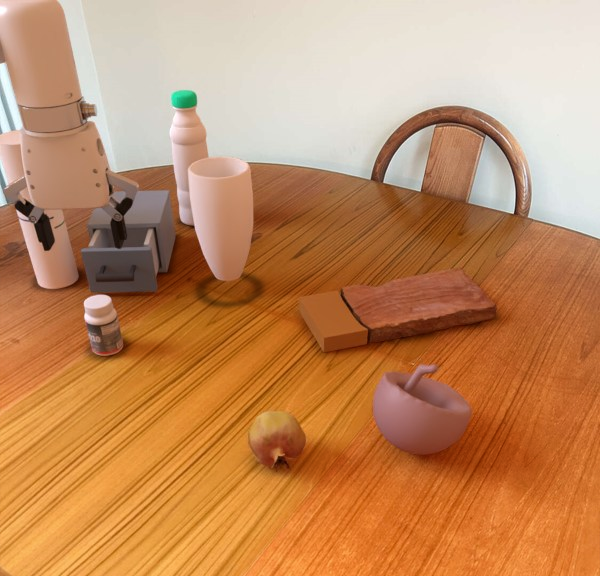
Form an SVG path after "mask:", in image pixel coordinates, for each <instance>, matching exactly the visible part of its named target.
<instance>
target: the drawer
mask: <svg viewBox="0 0 600 576" xmlns="http://www.w3.org/2000/svg"><path fill="white" fill-rule="evenodd" d="M126 230H127V240H124V242H123V245H122V248H121V249H117V248H115V244H114V239H113V235H112V230H111V228H100V229H96V231H95V233H94V235H93V237H92V239H91V241H90V240H89V241H90V242H89V244H88V247H86V248H85V247H83V248H82V249H81V250H80V254H81V258H82V262H83V263H82V264H83V266H84V269H85V270H84V271H85V274H86V275H85V276H86V279H87V283H88V286H89V288H88V289H89V291H90V293H91V294H99V293H101V294H102V293H137V292H138V293H139V292H140V293H141V292H143V293H144V292H157V291H158V289H159V286H158V285H159V284H158V281H157V280H158V279H157V275H158V273H159V272H158V268H159V264H160V261H161V258H160V251H159V245H158V239H157V232H156V227H146V228H126Z"/></svg>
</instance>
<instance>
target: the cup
mask: <svg viewBox="0 0 600 576" xmlns="http://www.w3.org/2000/svg"><path fill="white" fill-rule="evenodd" d="M188 178H189V191H190V201H191V207H192V213H193V219H194V225H195V226H194V231H195V234H196V236H197V239H198V242H199V246H200V249H201V252H202V254H203V256H204V259H205V261H206V263H207V265H208V267H209V269H210V271H211V272H212V274H213V275H214V277H215V278H216V280H219V281H222V282H230V281H231V282H232V281H236V280H238V279H239V278H241V277H242V275H243V271H244V269H245V266H246V264H247V260H248V257H249V253H250V249H251V243H252V237H253V231H254V192H253V180H252V171H251V166H250V164H249V162H248V161H246V160H243V159H242V158H238V157H234V156H211V157H209V158H205V159H201V160H198V161H196V162H194V163H192V164H191V166H190V167H189V168H188Z"/></svg>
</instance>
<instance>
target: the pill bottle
mask: <svg viewBox="0 0 600 576" xmlns="http://www.w3.org/2000/svg"><path fill="white" fill-rule="evenodd" d="M83 307H84V311H85V312H84V317H83V319H84V323H85V326H86V331H87V335H88V339H89V343H90V346H91V350H92V352H93V353H94V354H95V355H97V356H100V357H108V356H113V355H115V354H117V353H119V352H121V350H122V349H123V347H124V341H123V336H122V333H121V327H120V322H119V318H118V317H119V316H118V313H117V310H116V309H115V308H114V303H113V300H112V298H111V296H109V295H107V294H94V295H91V296H89V297H87V298H86V299H85V300H84V301H83Z"/></svg>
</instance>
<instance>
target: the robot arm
mask: <svg viewBox="0 0 600 576" xmlns="http://www.w3.org/2000/svg"><path fill="white" fill-rule="evenodd" d="M0 64H6V68H7V71H8V76H9V79H10V84H11V86H12V90H13V93H14V96H15V97H14V98H15V101H16V104H17V108H18V112H19V115H20V119H21V122H22V126H21V127H20V129H19V130H20V145H21V154H22V161H23V168H24V173H25V175H23V176H22V177H20V178H18V179H17V180H15V181H14V182H12V183H10V184H9V185H8V184H7V185H6V186H5V187H4V188H3V190H2V193H3V195H4V196H5V197H6V198H7V200H8V201H9V202H10V203H11V204H13V206H14V209H15V211H16V210H17V211H19V212H20V213H22V214H23V215H24V216H26V217H27V218H28V220H29V221H30V222H31V223H33V224H34V227H35V231H36V234H37V237H38V241H39V242H40V243H42V245H43V248H44V251H49V250H50V249H51V248H52V246H53V244H54V242H55V238H54V235H53V231H52V227H51V224H50V220H49V217H48V216H47V214H44V210H62V211H63V210H90V209H91V210H92V209H93V210H94V209H95V208H102V209H103V210H104V211H105V212H106V213H107V214H109V215H110V216H111V217H112V219H111V222H110V225H111V230H112V235H113V239H114V244H115V248H117V249H121V248H122V245H123V242H124V240H127V230H126V225H125V220H124V215H125V214H126V213H127V212H128V210H129V209H130V208H131V207H132V204H133V202H134V199H135V196H136V193H137V191H139V187H140V185H139V182H137V181H135V180H132V179H130V178H128V177H126V176H123V175H122V174H119V173H116V172H115V171H112V170H111V167H110V163H109V159H108V156H107V153H106V149H105V146H104V143H103V141H102V138H101V135H100V133H99V130H98V127H97V125H96V123H95V122H94V121H92V120H89V118H92V117H97V116H98V109H97V105H96V104H94V103H92V104H91V103H88V102H87V101H86V100H85V96H84V95H83V94H82V89H81V85H80V80H79V74H78V70H77V66H76V61H75V57H74V51H73V47H72V42H71V37H70V32H69V28H68V23H67V19H66V14H65V10H64V8H63V6H62V5H61V3H60V2H59V1H58V0H0ZM26 187H28V191H29V194H30V198H31V200H32V203H33V204H34V205H35V206H34V205H33V204H31V203H30V202H29V201H27V200H26V199H24V198H23V197H22V195H21V194H20V191H22V190H23V189H25V188H26ZM115 187H116V188H118V189H120V190H122V191H125V192H126V195H125V198H124V199H123V200H122V201H121V202H119V201H118V200H117V199H116V198H115V197H114V196H113V195H112V194H114V191H115ZM17 211H16V212H17Z"/></svg>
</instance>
